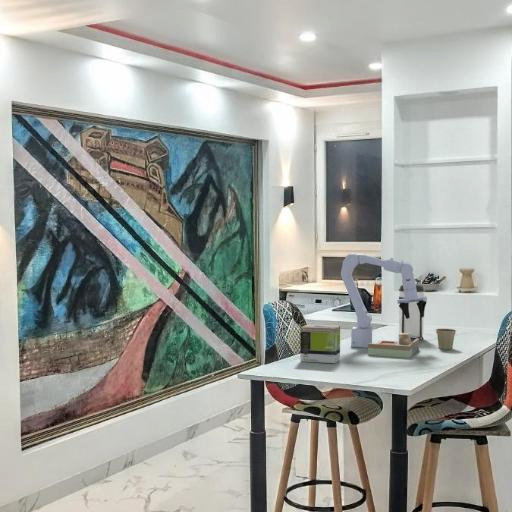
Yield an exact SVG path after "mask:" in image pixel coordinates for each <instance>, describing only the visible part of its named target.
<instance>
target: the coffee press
mask: <svg viewBox="0 0 512 512" xmlns="http://www.w3.org/2000/svg"><path fill="white" fill-rule="evenodd" d="M415 284H416V290H417V295H418V297H424V296H425V292H426V289H425V288H424V286H423V285H422V284H419V283H418V284H417V283H415ZM398 292H399V296H398V300H399V299H405V294H404V289H403V284H401V285H400V287H399V289H398ZM412 301H415V300H412ZM416 301H417V300H416ZM407 302H408V301H407ZM417 303H418V302H410V303H409V315H410V318H408V319H406V317H405V315H404V313H403V311H402V310H401V308H400V307H399V305H400V304H398V335H399V334H400V333H410V334H411V338H415V339H419V341H420V340H421V341H424V336H423V335H424V317H425V316H424V317H420V312H419V308H418V306H417Z"/></svg>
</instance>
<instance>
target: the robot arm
mask: <svg viewBox="0 0 512 512" xmlns="http://www.w3.org/2000/svg"><path fill="white" fill-rule="evenodd" d="M362 264H363V265H364V264H370V265H374V266H379V267H382V268H383V270H384V271H387V272H392V273H395V274H401V282H402V285H403V289H404V294H405V299H399V298H398V299H397V301H396V302H397V304H398V308H399V307H400V308H401V310H402V311H403V313H404V315H405V317H406V319H408V318H410V315H409V303H410V302H418V303H417V306H418V308H419V312H420V317H425V309H426V305H427V301H428V298H427V296H425V295H424V297H418V295H417V290H416V284H417V283H416V280H415V275H414V273H413V272H414V268H413V266H412V264H410V263H408V262H405V261H403V260H401V261H400V260H396V259H394V257H388V258H386V259H381V258H378V257H375V256H371V255H367V254H363V253H354V252H352V253H351V252H350V253H348V254H347V255H346V256H345V257H344V259H343V260H342V266H341V271H340V276H341V279H342V281H343V284H344V287H345V289H346V291H347V294H348V297H349V300H350V301H351V303H352V305H353V309H354V310H355V316H356V318H357V319H356V320H357V321H356V322H357V325H356V327H355V326H353V327H352V328H351V332H350V333H351V336H350V337H351V338H350V339H351V340H350V341H351V342H350V347H355V348H365V349H366V348H367V349H368V343H373V326H372V325H371V324H372V321H373V318H372V317H373V316H372V314H370V313H369V312H368V310H367V308H366V306H365V304H364V302H363V299H362V297H361V294H360V292H359V289H358V287H357V284H356V283H355V280H354V278H353V275H352V274H353V272H354V270H355V268H356V267H357V266H358V265H362ZM412 300H415V301H412ZM416 300H417V301H416ZM407 301H408V302H407ZM399 304H400V305H399Z"/></svg>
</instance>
